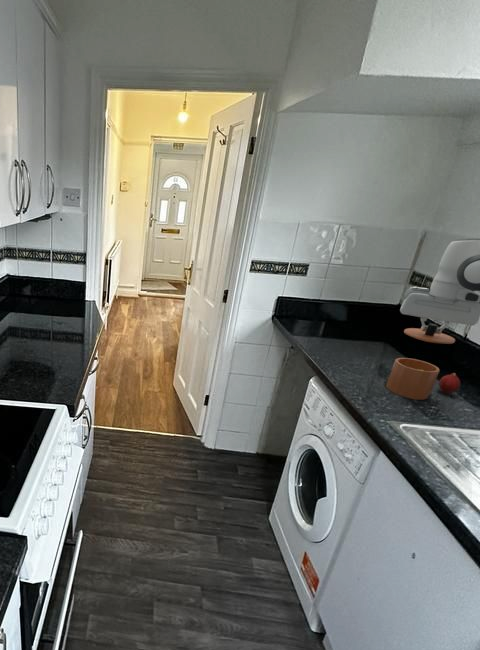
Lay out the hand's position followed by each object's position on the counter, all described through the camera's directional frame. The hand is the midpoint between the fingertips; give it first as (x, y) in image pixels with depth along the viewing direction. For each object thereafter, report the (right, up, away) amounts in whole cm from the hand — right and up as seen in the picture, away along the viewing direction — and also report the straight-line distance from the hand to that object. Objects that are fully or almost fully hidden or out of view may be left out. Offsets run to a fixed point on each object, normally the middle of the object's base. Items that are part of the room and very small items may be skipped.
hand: (430, 332), depth 137 cm
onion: (+15, -21, +13) cm, 29 cm away
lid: (0, -1, +1) cm, 2 cm away
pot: (+1, -20, +12) cm, 24 cm away
